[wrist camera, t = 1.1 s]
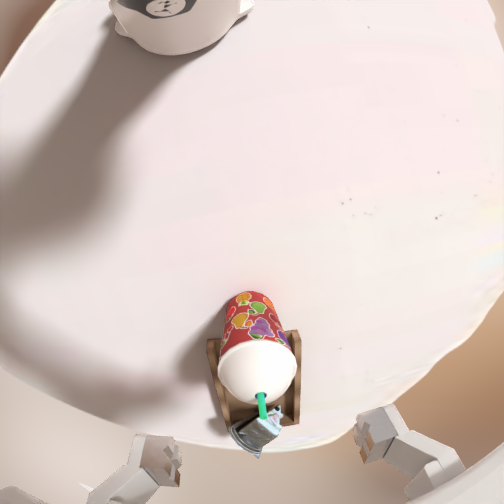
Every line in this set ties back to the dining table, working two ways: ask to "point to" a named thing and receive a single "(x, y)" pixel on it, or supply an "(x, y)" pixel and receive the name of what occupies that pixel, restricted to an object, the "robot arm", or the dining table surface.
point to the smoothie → (255, 352)
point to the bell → (257, 430)
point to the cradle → (241, 410)
